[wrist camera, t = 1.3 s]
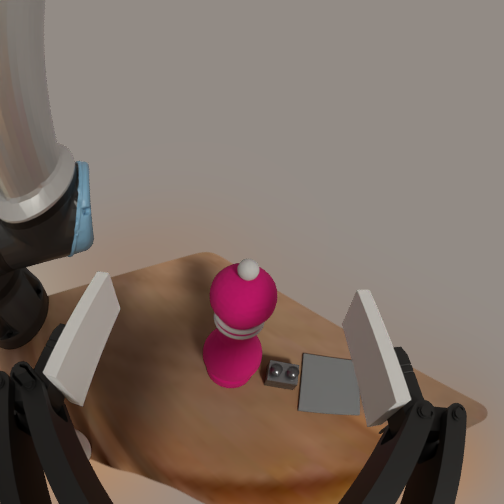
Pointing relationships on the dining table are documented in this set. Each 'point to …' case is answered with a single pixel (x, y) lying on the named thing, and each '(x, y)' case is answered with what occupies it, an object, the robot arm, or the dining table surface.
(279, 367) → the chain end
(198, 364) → the dining table surface
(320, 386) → the plate
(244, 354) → the pepper mill
